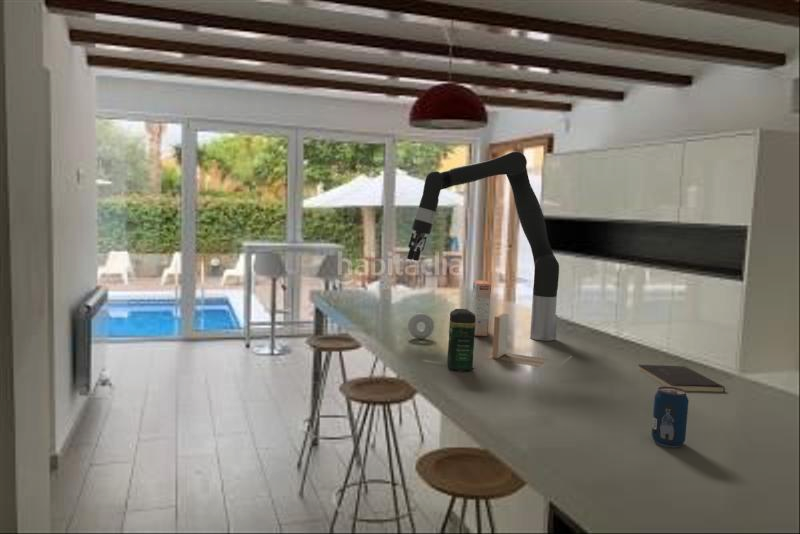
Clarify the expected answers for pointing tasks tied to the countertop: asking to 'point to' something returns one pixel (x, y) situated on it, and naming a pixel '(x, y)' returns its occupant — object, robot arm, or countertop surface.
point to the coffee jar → (461, 340)
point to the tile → (500, 335)
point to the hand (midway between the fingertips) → (412, 259)
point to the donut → (415, 320)
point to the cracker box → (481, 306)
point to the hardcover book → (681, 378)
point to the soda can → (670, 416)
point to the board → (520, 359)
